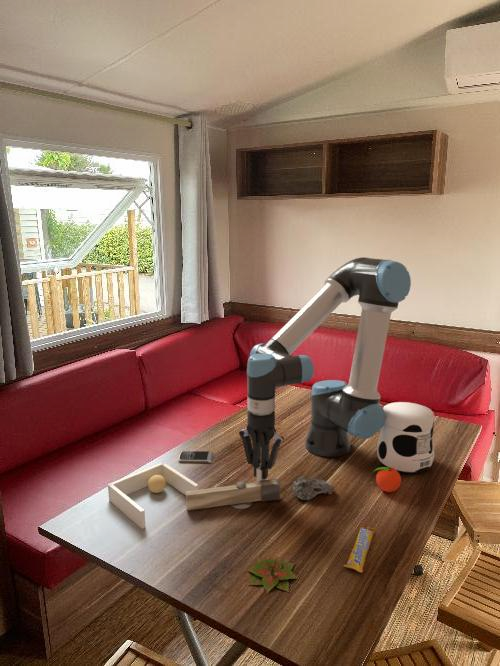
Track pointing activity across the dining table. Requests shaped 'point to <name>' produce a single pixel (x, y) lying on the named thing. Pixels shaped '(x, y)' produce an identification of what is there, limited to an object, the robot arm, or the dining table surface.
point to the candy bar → (360, 549)
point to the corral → (140, 481)
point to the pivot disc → (242, 505)
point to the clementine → (388, 479)
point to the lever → (233, 494)
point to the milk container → (407, 437)
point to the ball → (156, 483)
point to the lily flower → (272, 573)
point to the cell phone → (196, 457)
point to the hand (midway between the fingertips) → (260, 487)
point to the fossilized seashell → (311, 488)
